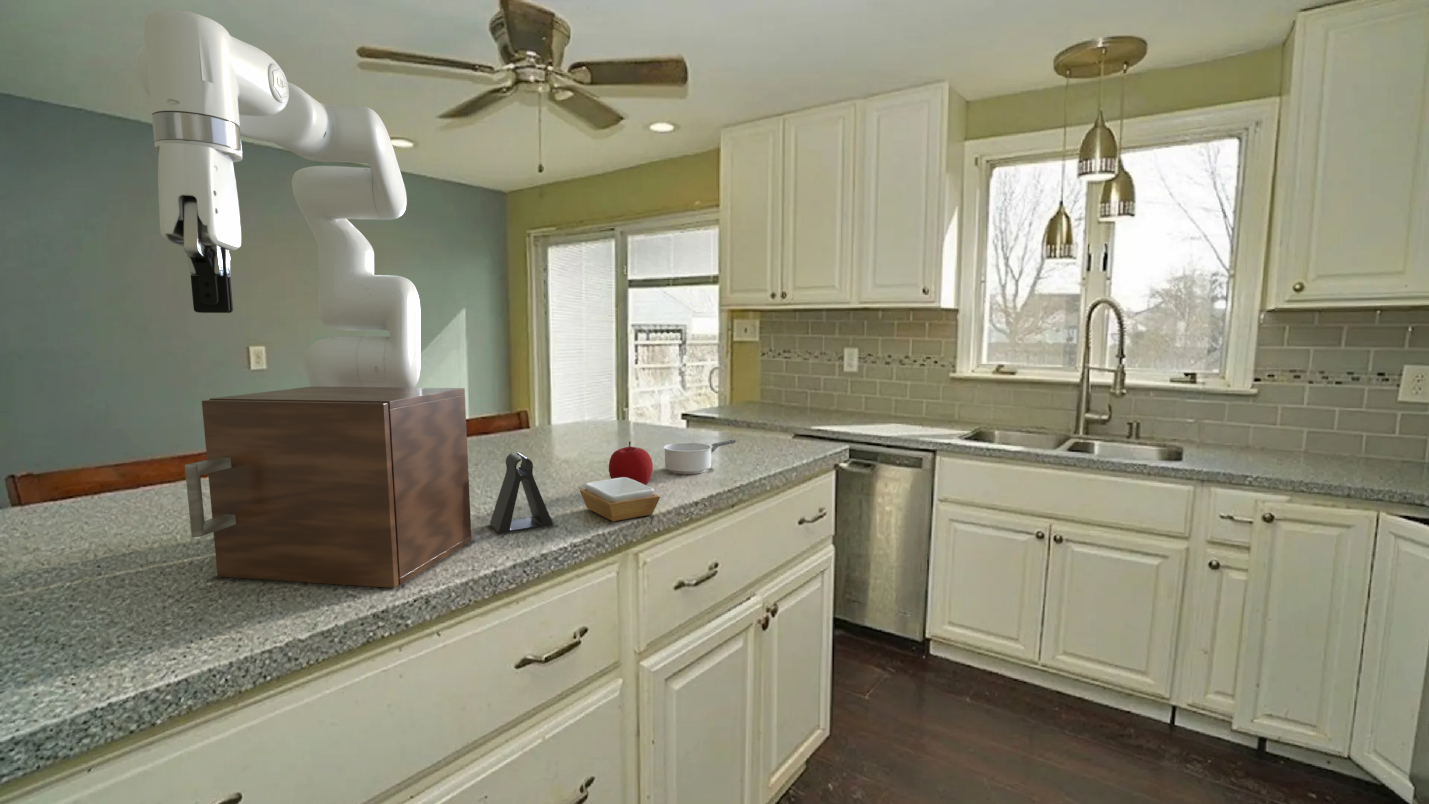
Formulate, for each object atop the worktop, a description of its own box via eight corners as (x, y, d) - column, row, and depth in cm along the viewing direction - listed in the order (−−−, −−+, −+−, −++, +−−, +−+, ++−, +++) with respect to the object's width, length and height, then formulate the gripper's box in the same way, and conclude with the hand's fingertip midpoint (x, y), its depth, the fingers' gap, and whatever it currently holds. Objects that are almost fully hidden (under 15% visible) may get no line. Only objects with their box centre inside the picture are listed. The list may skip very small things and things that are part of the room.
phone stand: (497, 534, 108) (494, 461, 106) (489, 525, 113) (486, 455, 111) (553, 526, 112) (550, 455, 111) (542, 517, 117) (540, 450, 116)
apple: (662, 486, 139) (661, 439, 138) (634, 496, 132) (633, 446, 131) (628, 481, 144) (627, 435, 143) (599, 490, 137) (598, 441, 136)
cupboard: (400, 585, 86) (389, 401, 84) (224, 574, 91) (209, 398, 88) (471, 541, 104) (464, 388, 101) (322, 534, 108) (311, 386, 106)
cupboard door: (365, 605, 80) (352, 408, 77) (178, 592, 84) (159, 405, 81) (399, 585, 86) (388, 402, 84) (223, 574, 90) (208, 399, 88)
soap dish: (579, 509, 122) (578, 482, 122) (627, 501, 128) (626, 475, 127) (610, 525, 112) (609, 496, 112) (660, 516, 118) (660, 487, 117)
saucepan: (749, 465, 160) (750, 442, 159) (683, 478, 147) (683, 453, 147) (718, 458, 169) (718, 436, 168) (653, 469, 156) (653, 446, 155)
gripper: (182, 154, 78) (197, 313, 80) (123, 116, 64) (142, 311, 66) (259, 159, 80) (271, 313, 82) (217, 124, 66) (233, 311, 68)
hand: (214, 312), depth 74 cm, fingers closed
